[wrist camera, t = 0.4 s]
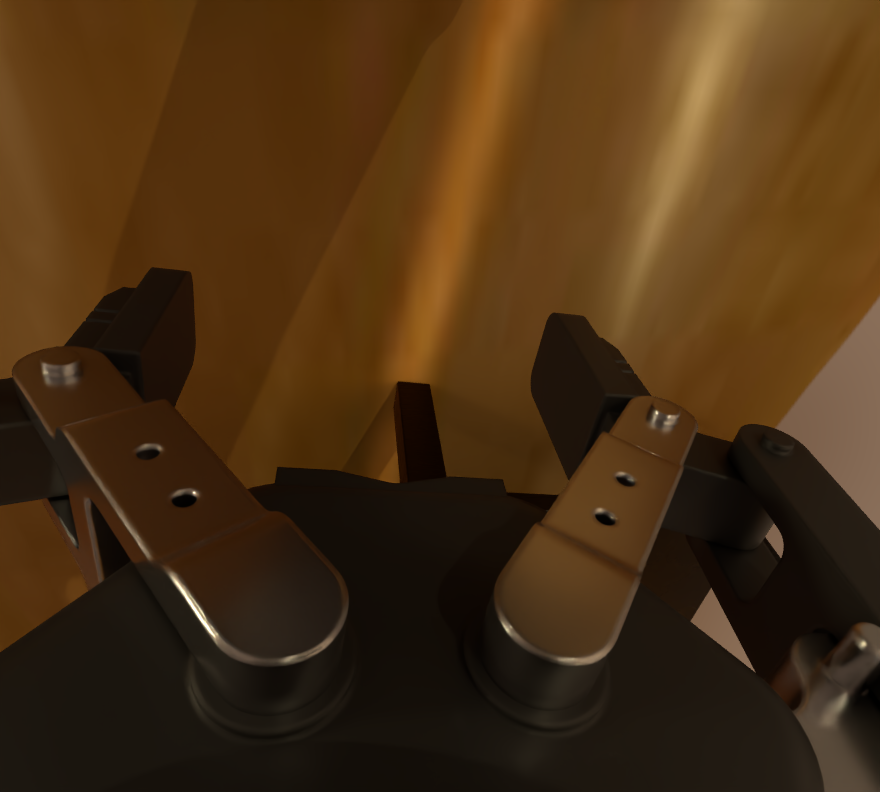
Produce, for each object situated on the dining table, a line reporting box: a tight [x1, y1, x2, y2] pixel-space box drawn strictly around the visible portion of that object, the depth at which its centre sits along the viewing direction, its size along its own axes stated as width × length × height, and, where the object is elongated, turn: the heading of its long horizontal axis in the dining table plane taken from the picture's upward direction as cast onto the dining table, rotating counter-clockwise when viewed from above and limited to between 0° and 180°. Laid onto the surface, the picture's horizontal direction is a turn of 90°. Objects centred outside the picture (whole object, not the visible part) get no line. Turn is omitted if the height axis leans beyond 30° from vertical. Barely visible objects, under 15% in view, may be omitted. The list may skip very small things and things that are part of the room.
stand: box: [393, 382, 781, 621], centre depth 31 cm, size 19×18×32 cm
